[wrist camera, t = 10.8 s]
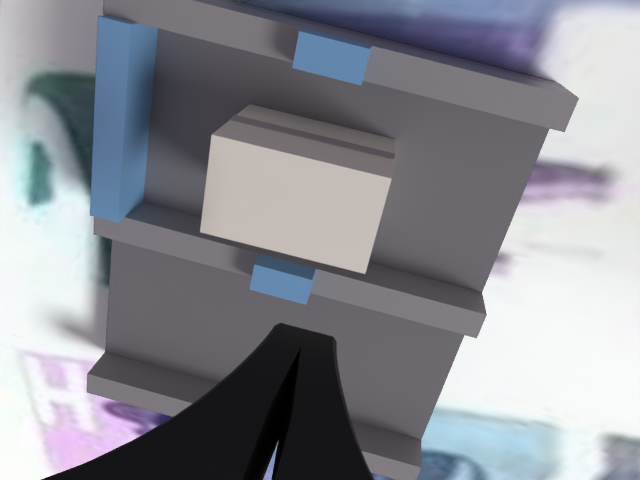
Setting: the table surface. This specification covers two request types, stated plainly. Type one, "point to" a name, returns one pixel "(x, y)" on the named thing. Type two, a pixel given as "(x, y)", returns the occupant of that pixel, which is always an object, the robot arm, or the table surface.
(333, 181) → the beige rectangular box
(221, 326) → the board
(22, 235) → the table surface
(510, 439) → the table surface
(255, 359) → the robot arm
